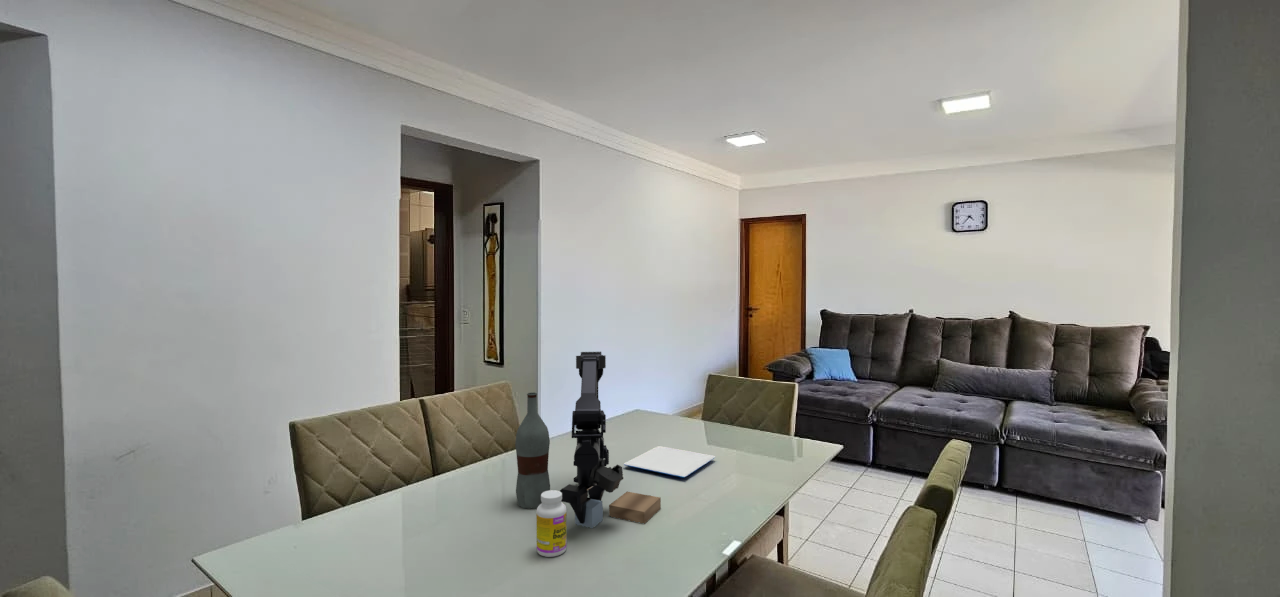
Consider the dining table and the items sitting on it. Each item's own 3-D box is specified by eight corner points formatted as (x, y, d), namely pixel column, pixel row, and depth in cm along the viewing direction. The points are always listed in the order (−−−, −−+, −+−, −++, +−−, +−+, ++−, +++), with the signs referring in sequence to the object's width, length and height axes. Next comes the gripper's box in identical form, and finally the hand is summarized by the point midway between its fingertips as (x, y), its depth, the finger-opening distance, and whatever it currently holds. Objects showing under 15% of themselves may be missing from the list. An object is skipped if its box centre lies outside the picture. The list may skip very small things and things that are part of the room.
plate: (716, 461, 183) (716, 455, 183) (684, 482, 164) (684, 476, 164) (658, 451, 195) (658, 445, 195) (622, 469, 176) (622, 463, 176)
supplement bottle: (553, 561, 118) (552, 502, 118) (530, 553, 122) (529, 496, 121) (572, 548, 124) (572, 492, 123) (550, 541, 127) (549, 486, 127)
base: (609, 516, 140) (609, 505, 140) (627, 502, 149) (626, 491, 149) (644, 523, 136) (644, 511, 136) (660, 508, 145) (660, 497, 145)
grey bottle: (534, 493, 156) (532, 388, 155) (557, 500, 151) (556, 392, 150) (508, 504, 148) (507, 394, 147) (532, 512, 143) (531, 398, 142)
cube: (575, 524, 136) (574, 504, 136) (585, 517, 141) (585, 497, 140) (592, 528, 134) (592, 508, 134) (602, 520, 138) (602, 501, 138)
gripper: (597, 472, 125) (598, 540, 125) (634, 450, 142) (634, 509, 142) (556, 466, 130) (557, 531, 130) (596, 444, 146) (597, 502, 147)
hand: (588, 518), depth 137 cm, fingers open, 6 cm apart
